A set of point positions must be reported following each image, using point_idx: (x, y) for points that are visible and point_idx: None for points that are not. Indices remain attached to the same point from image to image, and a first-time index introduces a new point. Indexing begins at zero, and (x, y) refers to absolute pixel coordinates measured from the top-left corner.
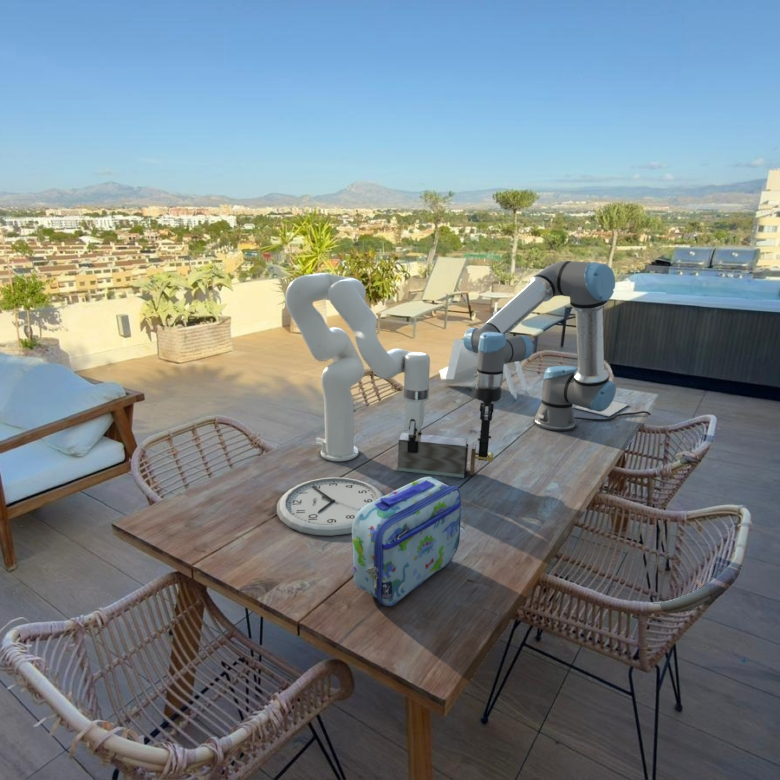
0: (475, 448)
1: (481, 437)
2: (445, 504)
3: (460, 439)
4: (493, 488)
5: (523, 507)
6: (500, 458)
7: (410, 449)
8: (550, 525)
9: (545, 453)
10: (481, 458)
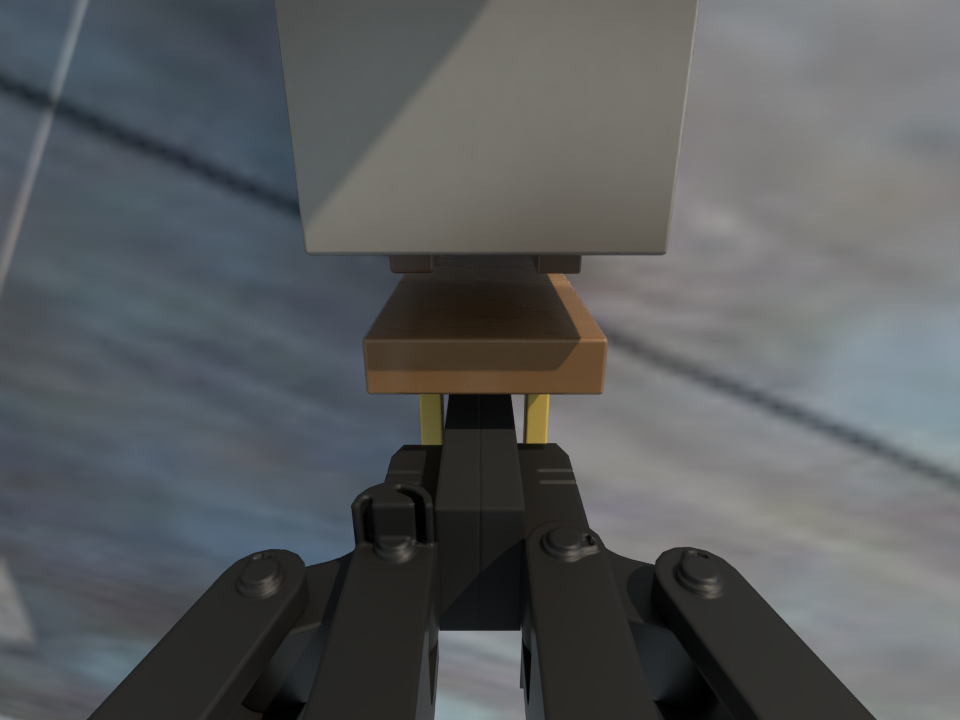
0: (380, 392)
1: (178, 650)
2: None
3: (610, 120)
4: (295, 427)
5: (122, 581)
6: (815, 469)
7: None
8: (4, 678)
9: (896, 712)
10: (420, 408)
